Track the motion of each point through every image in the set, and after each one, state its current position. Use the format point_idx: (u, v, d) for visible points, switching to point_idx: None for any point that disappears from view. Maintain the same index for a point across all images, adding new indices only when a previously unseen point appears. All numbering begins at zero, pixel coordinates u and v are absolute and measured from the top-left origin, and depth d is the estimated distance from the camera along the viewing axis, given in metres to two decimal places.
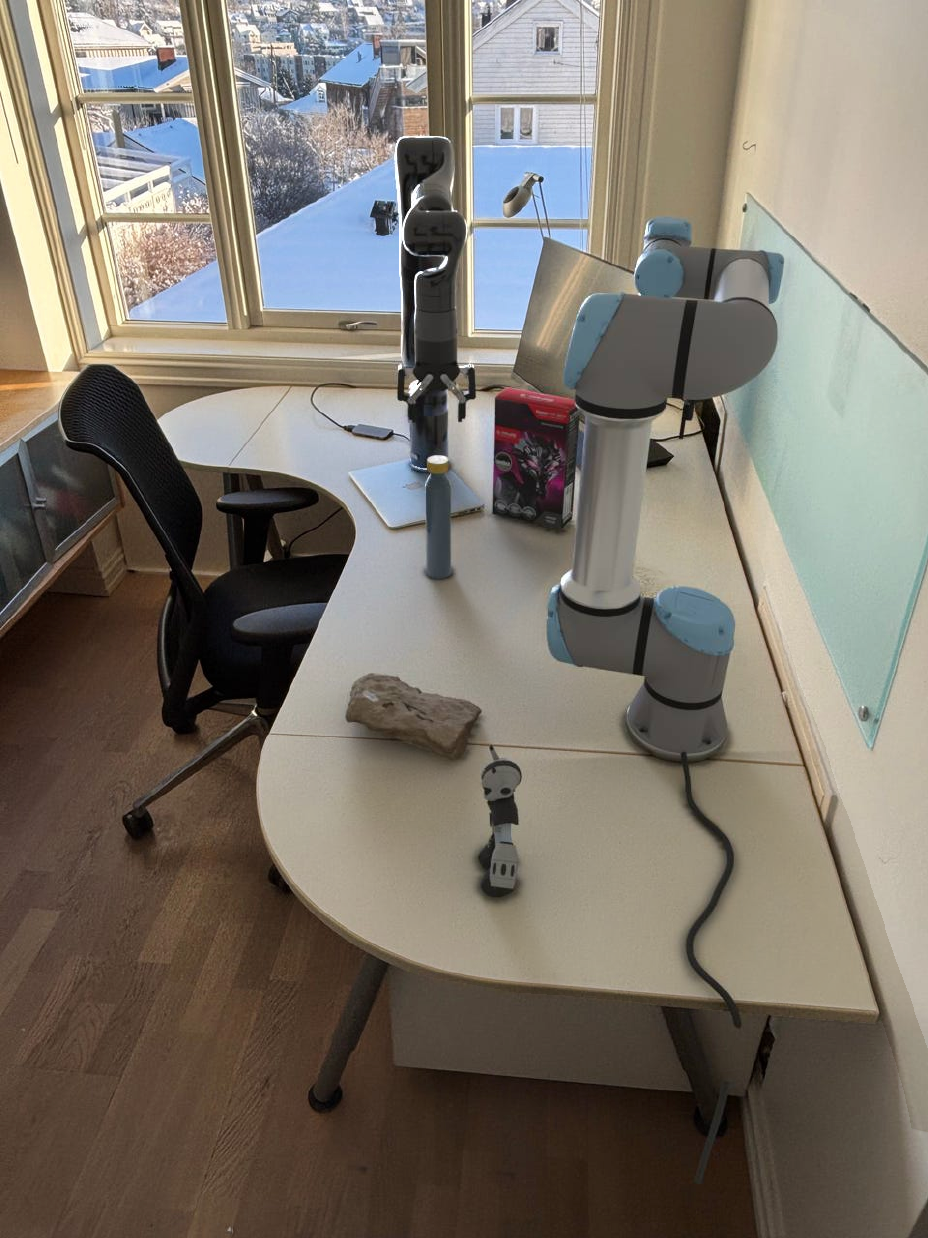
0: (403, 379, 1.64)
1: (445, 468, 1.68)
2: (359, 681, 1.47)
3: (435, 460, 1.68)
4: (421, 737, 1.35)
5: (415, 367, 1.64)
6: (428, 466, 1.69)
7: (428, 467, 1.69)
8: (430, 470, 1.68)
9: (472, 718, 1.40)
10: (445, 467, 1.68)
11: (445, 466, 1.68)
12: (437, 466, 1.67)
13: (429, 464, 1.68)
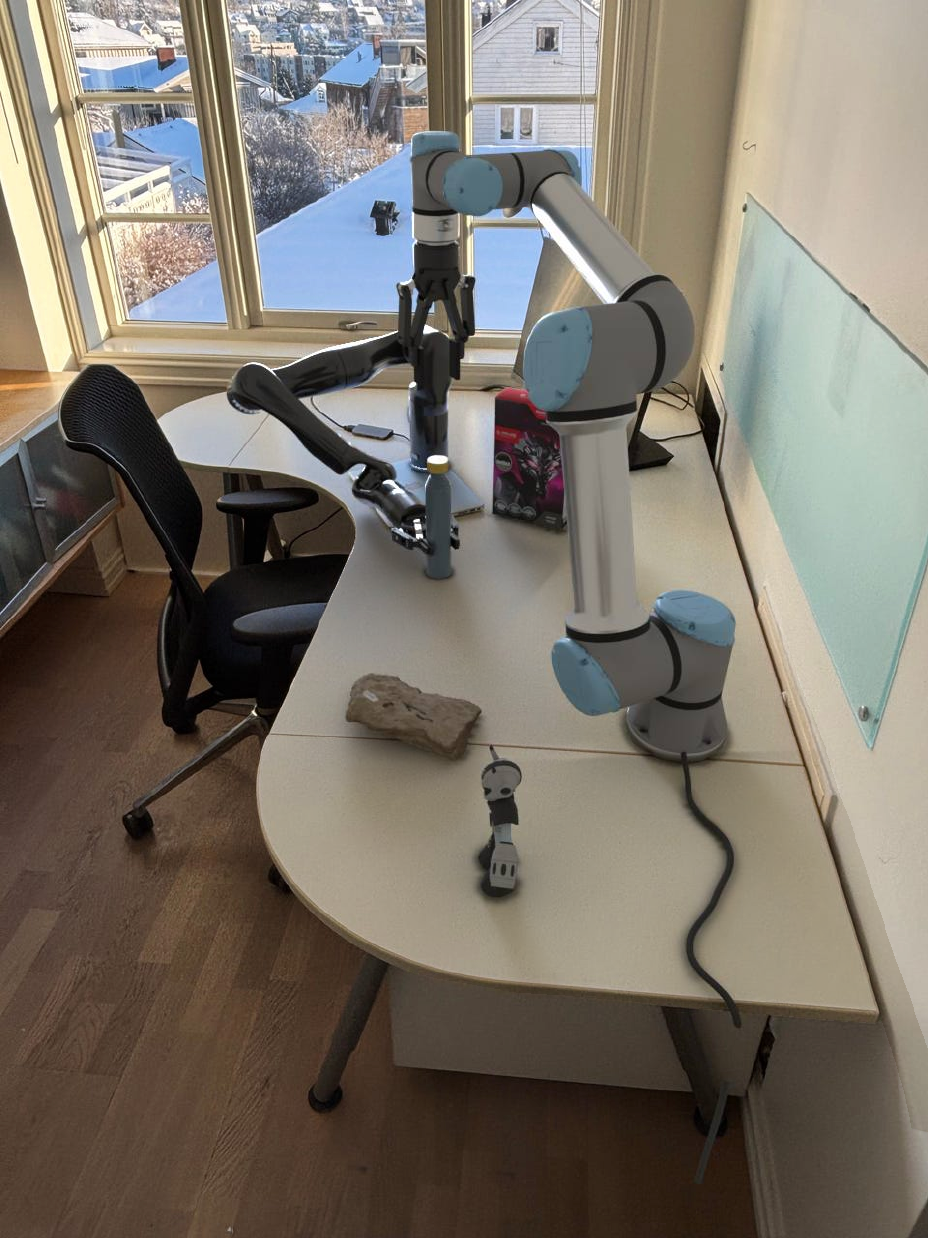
0: None
1: (445, 468, 1.68)
2: (359, 681, 1.47)
3: (435, 460, 1.68)
4: (421, 737, 1.35)
5: None
6: (428, 466, 1.69)
7: (428, 467, 1.69)
8: (430, 470, 1.68)
9: (472, 718, 1.40)
10: (445, 467, 1.68)
11: (445, 466, 1.68)
12: (437, 466, 1.67)
13: (429, 464, 1.68)
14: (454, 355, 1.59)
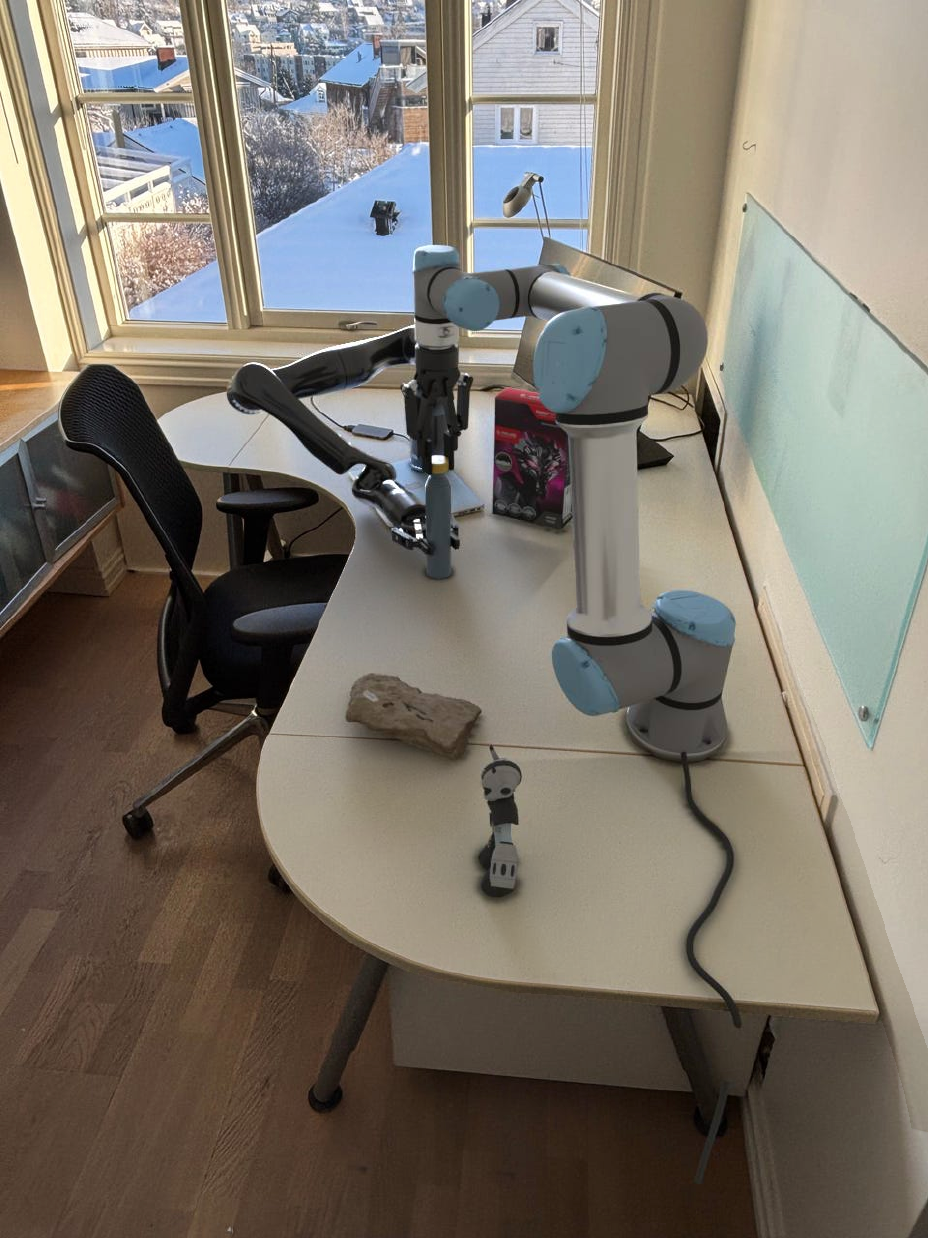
0: None
1: (445, 468, 1.68)
2: (359, 681, 1.47)
3: (435, 460, 1.68)
4: (421, 737, 1.35)
5: None
6: None
7: None
8: None
9: (472, 718, 1.40)
10: (445, 467, 1.68)
11: (445, 466, 1.68)
12: (437, 466, 1.67)
13: None
14: (448, 447, 1.68)
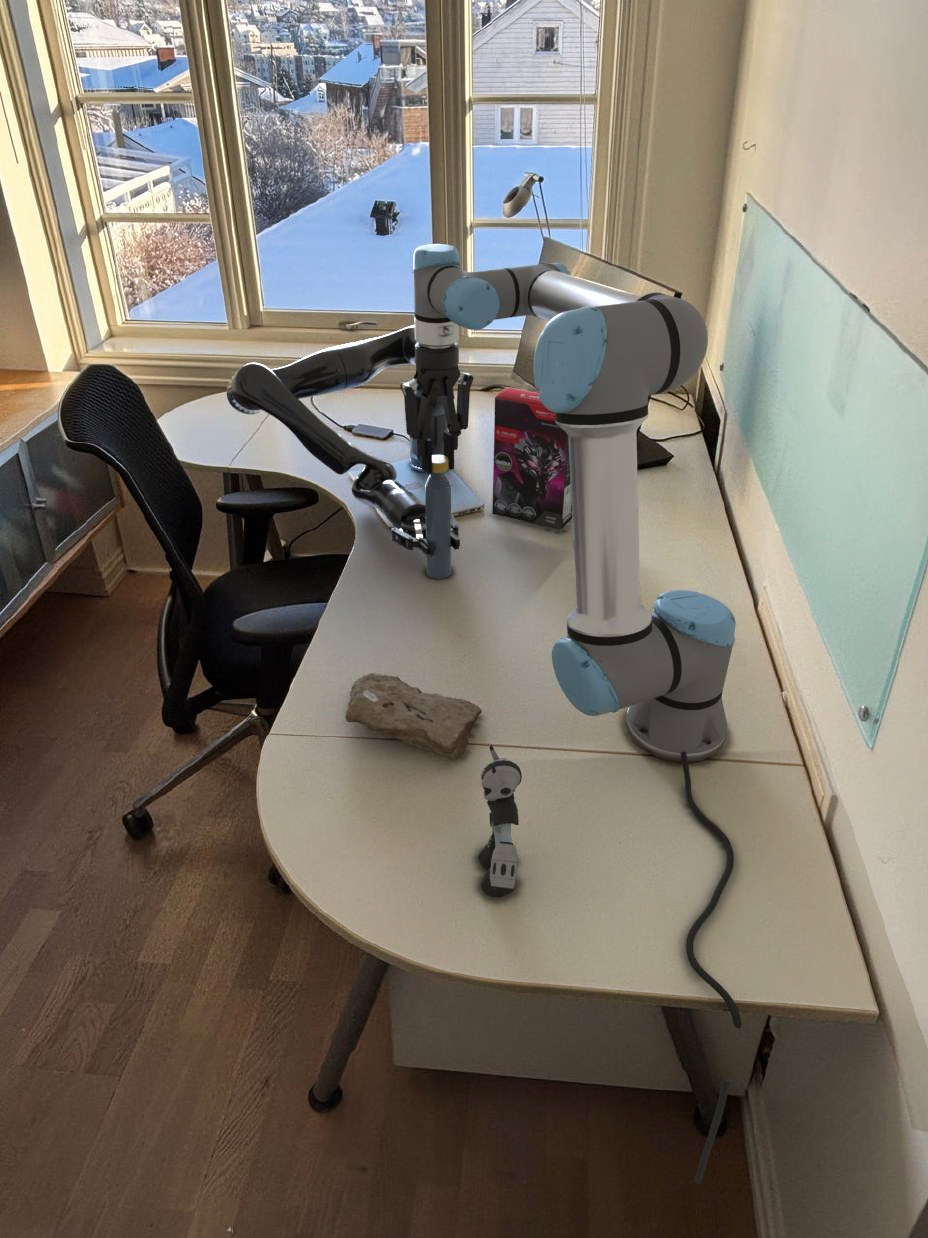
0: None
1: None
2: (359, 681, 1.47)
3: (441, 458, 1.69)
4: (421, 737, 1.35)
5: None
6: (446, 466, 1.68)
7: (446, 467, 1.69)
8: (448, 467, 1.69)
9: (472, 718, 1.40)
10: None
11: None
12: None
13: (447, 462, 1.68)
14: (448, 447, 1.68)
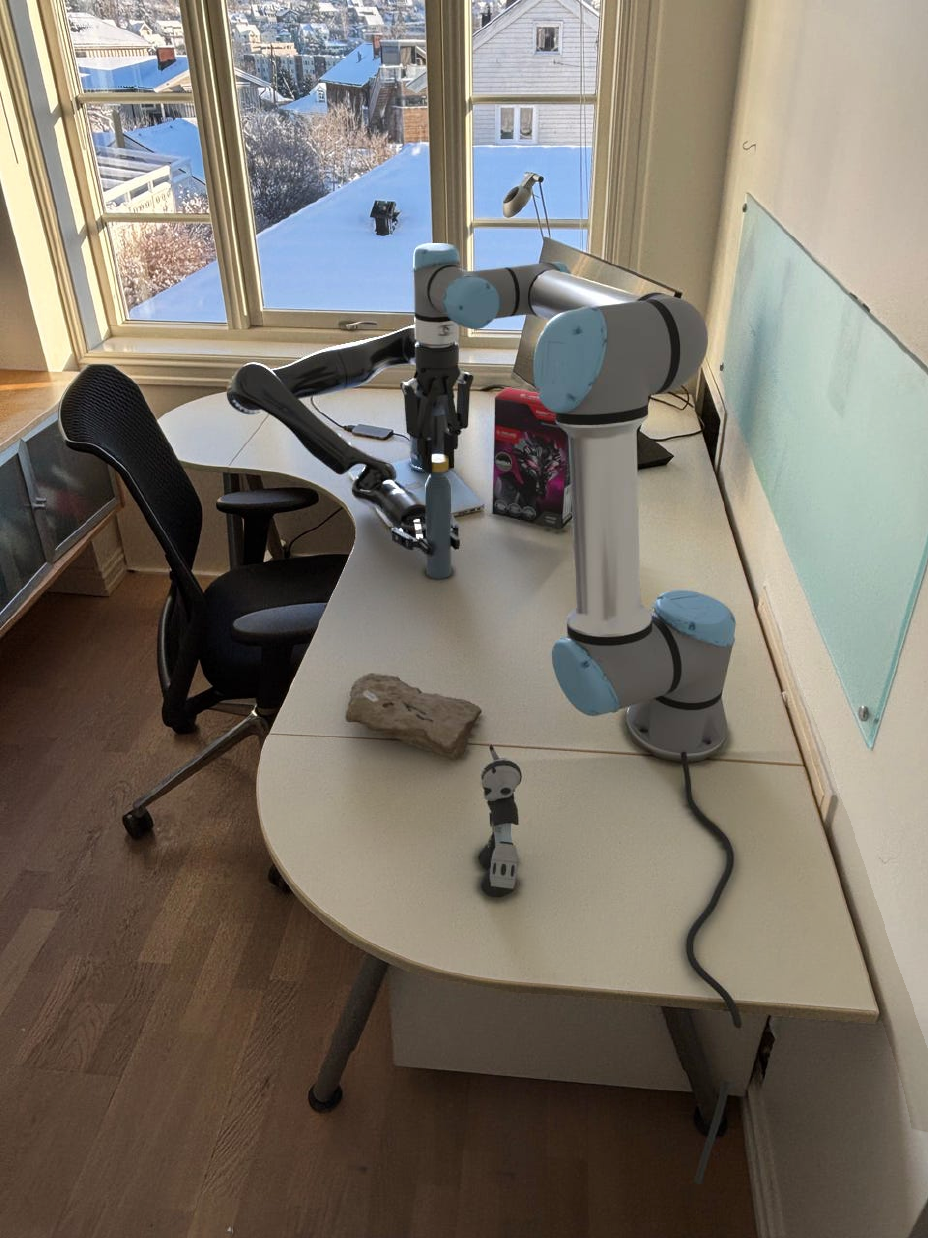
0: None
1: None
2: (359, 681, 1.47)
3: (436, 456, 1.69)
4: (421, 737, 1.35)
5: None
6: None
7: None
8: None
9: (472, 718, 1.40)
10: None
11: None
12: None
13: None
14: (448, 446, 1.68)
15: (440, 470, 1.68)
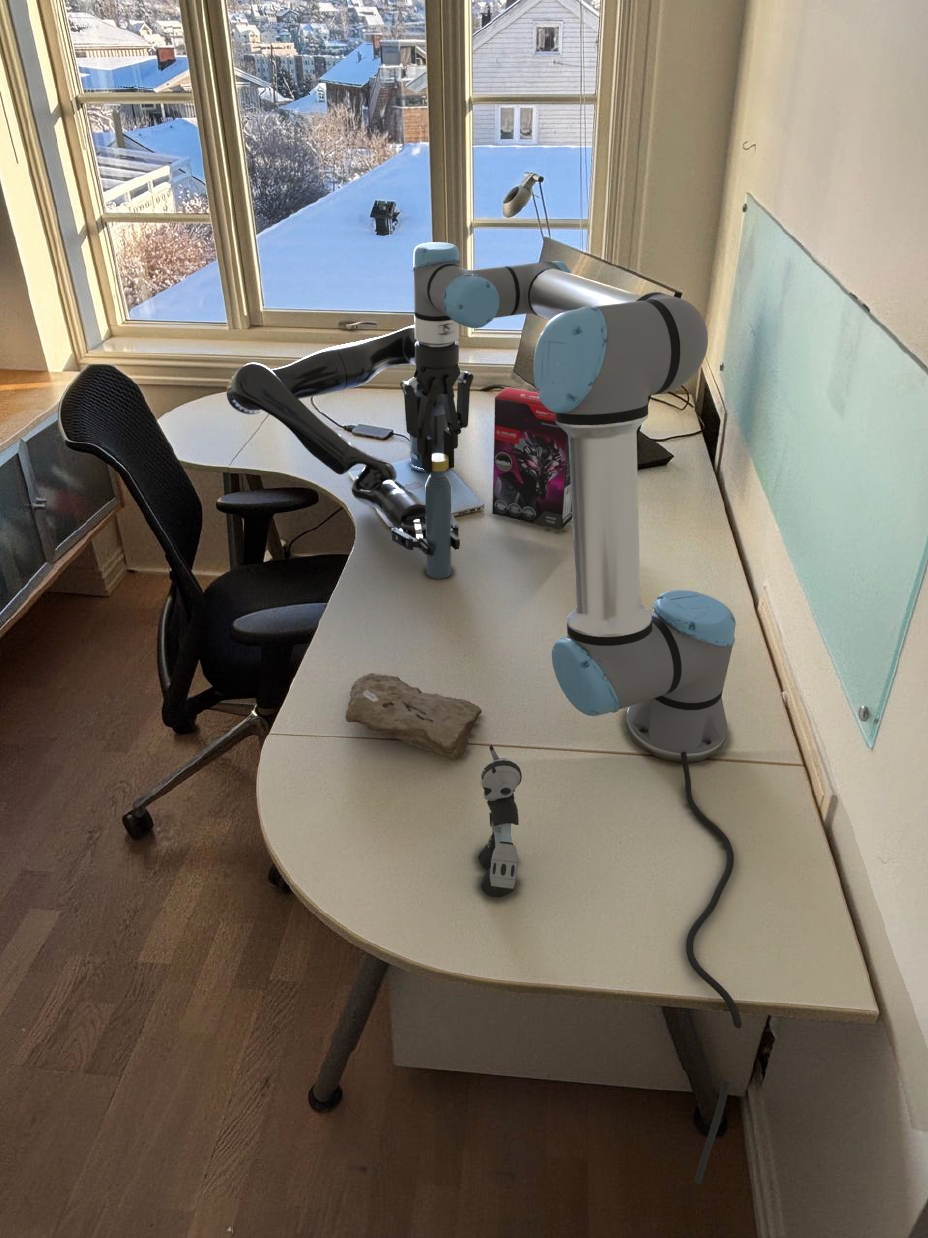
0: None
1: (446, 465, 1.68)
2: (359, 681, 1.47)
3: (436, 458, 1.68)
4: (421, 737, 1.35)
5: None
6: None
7: None
8: None
9: (472, 718, 1.40)
10: (446, 464, 1.68)
11: (446, 463, 1.68)
12: (438, 463, 1.67)
13: None
14: (448, 445, 1.68)
15: None
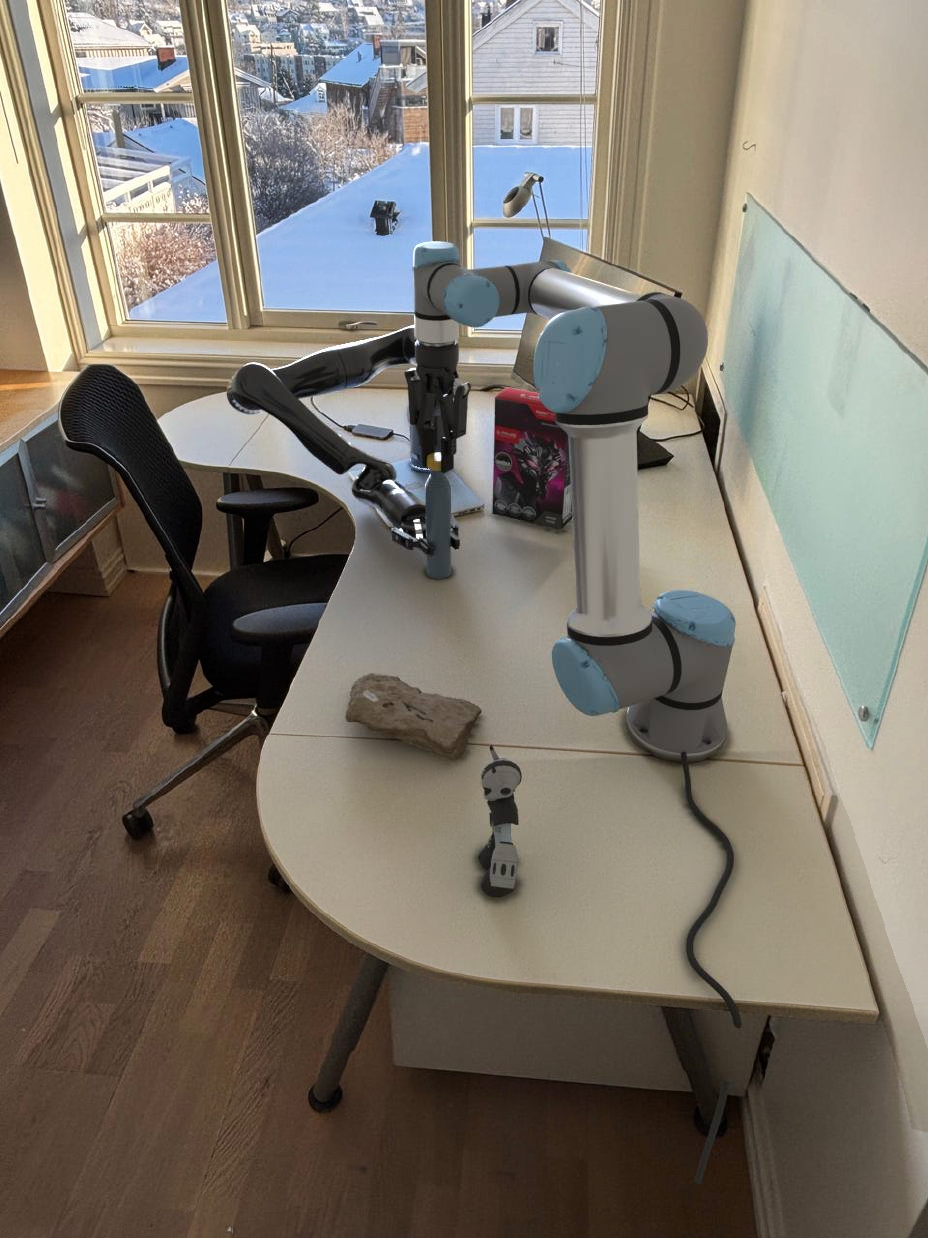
0: None
1: None
2: (359, 681, 1.47)
3: None
4: (421, 737, 1.35)
5: None
6: None
7: None
8: None
9: (472, 718, 1.40)
10: None
11: None
12: None
13: None
14: (431, 442, 1.69)
15: None
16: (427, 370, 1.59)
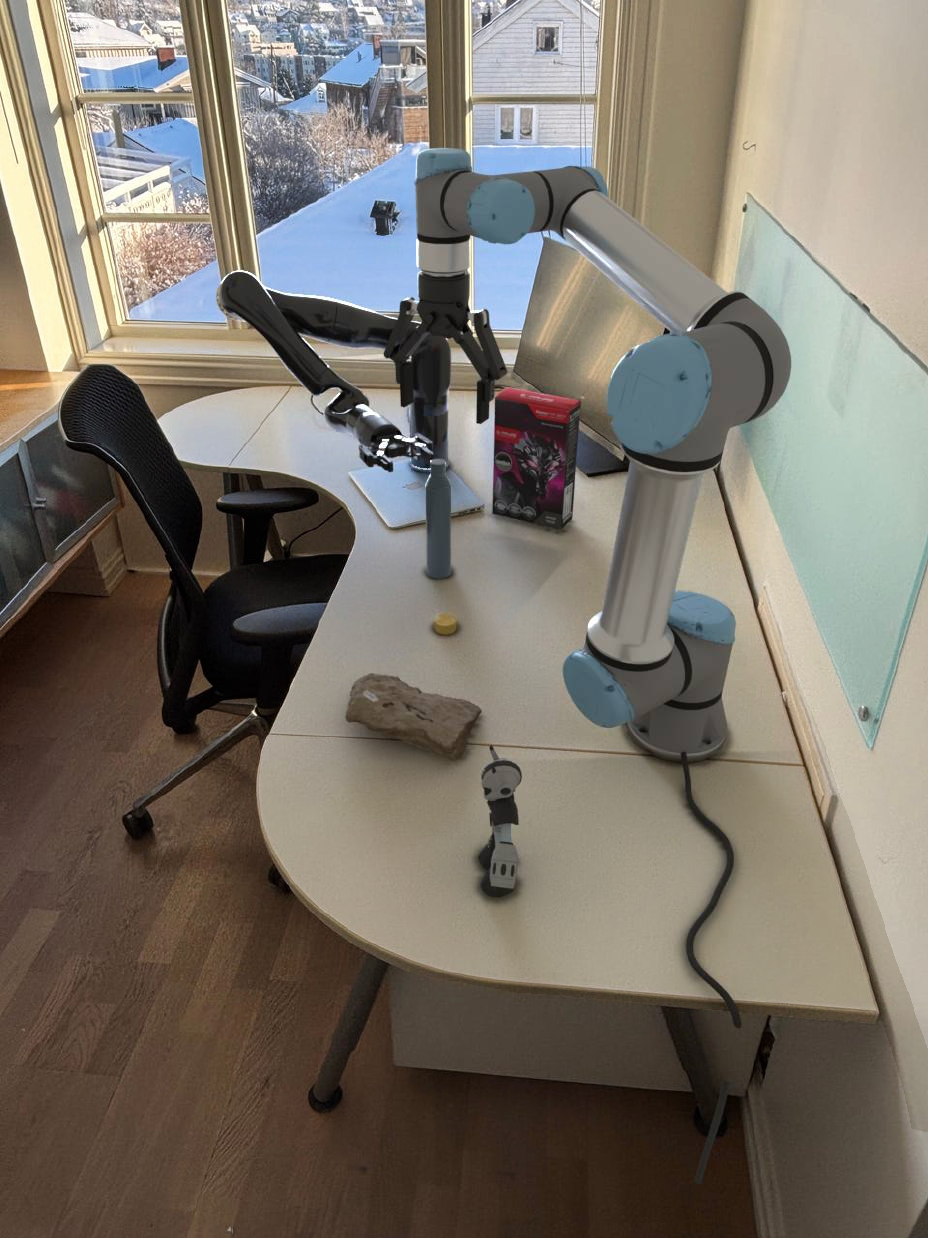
0: (419, 448, 1.89)
1: None
2: (359, 681, 1.47)
3: (448, 619, 1.65)
4: (421, 737, 1.35)
5: None
6: (455, 626, 1.65)
7: (455, 627, 1.65)
8: (456, 627, 1.66)
9: (472, 718, 1.40)
10: None
11: None
12: None
13: (455, 623, 1.65)
14: (410, 377, 1.44)
15: None
16: (432, 308, 1.34)
